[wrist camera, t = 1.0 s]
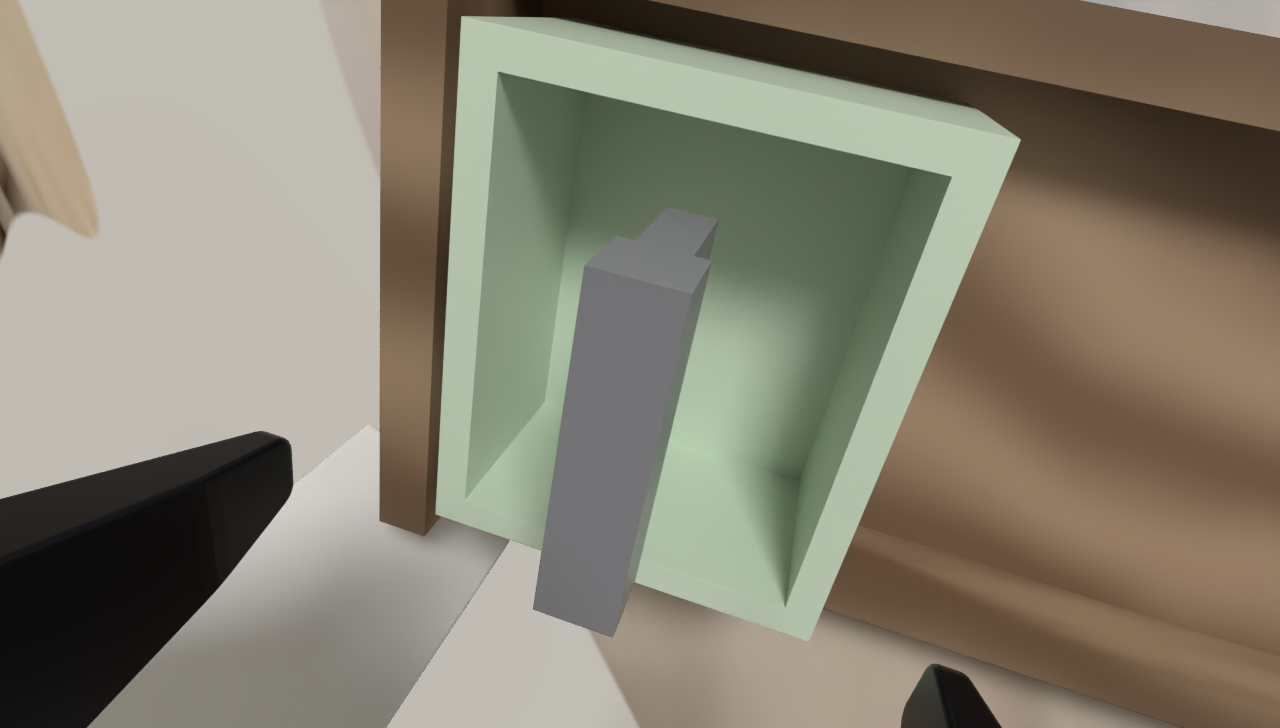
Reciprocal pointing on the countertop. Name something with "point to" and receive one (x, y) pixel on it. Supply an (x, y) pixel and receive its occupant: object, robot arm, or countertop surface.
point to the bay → (994, 334)
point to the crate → (690, 308)
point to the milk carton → (316, 614)
